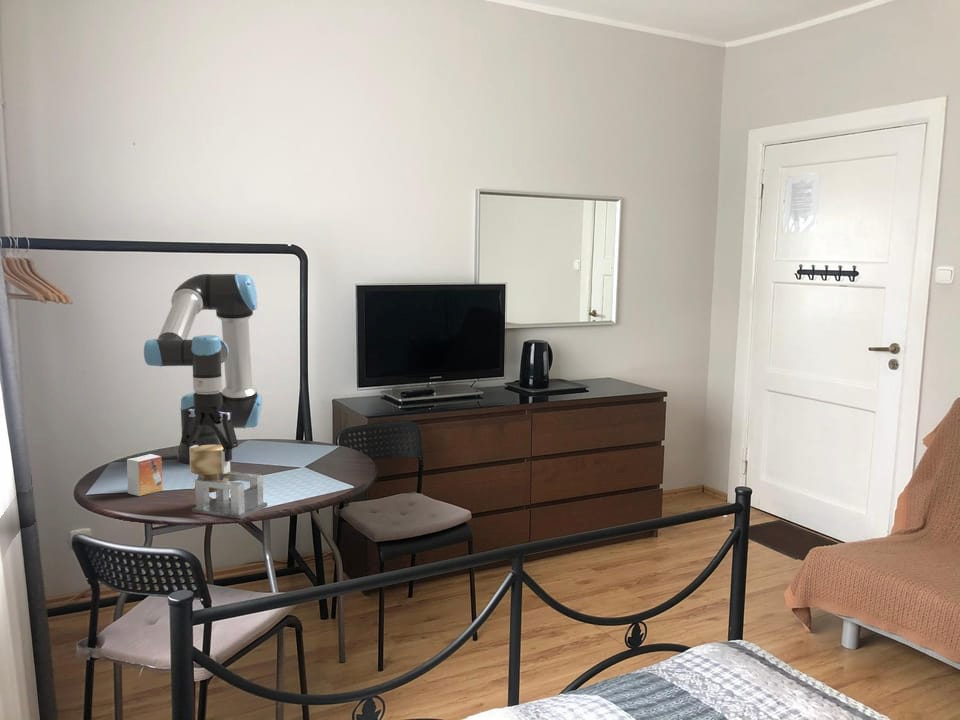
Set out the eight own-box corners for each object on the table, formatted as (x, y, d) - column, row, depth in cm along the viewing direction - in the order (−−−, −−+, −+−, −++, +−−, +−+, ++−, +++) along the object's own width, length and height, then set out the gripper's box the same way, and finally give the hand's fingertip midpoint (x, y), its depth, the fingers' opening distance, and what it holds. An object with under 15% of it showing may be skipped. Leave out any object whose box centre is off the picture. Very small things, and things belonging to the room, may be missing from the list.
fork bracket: (191, 512, 215) (190, 480, 214) (220, 499, 226) (219, 469, 225) (241, 519, 210) (240, 486, 209) (267, 506, 221) (266, 475, 220)
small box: (139, 497, 228) (137, 461, 226) (127, 493, 231) (126, 458, 229) (163, 490, 235) (162, 456, 233) (151, 487, 237) (150, 453, 236)
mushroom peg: (183, 493, 216) (182, 451, 215) (207, 484, 226) (206, 443, 224) (213, 497, 213) (212, 454, 211) (236, 487, 222) (235, 446, 221)
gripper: (165, 391, 216) (167, 469, 219) (233, 396, 208) (235, 478, 211) (183, 387, 223) (186, 463, 226) (250, 392, 216) (252, 471, 218)
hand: (210, 470), depth 219 cm, fingers closed on mushroom peg, 10 cm apart
